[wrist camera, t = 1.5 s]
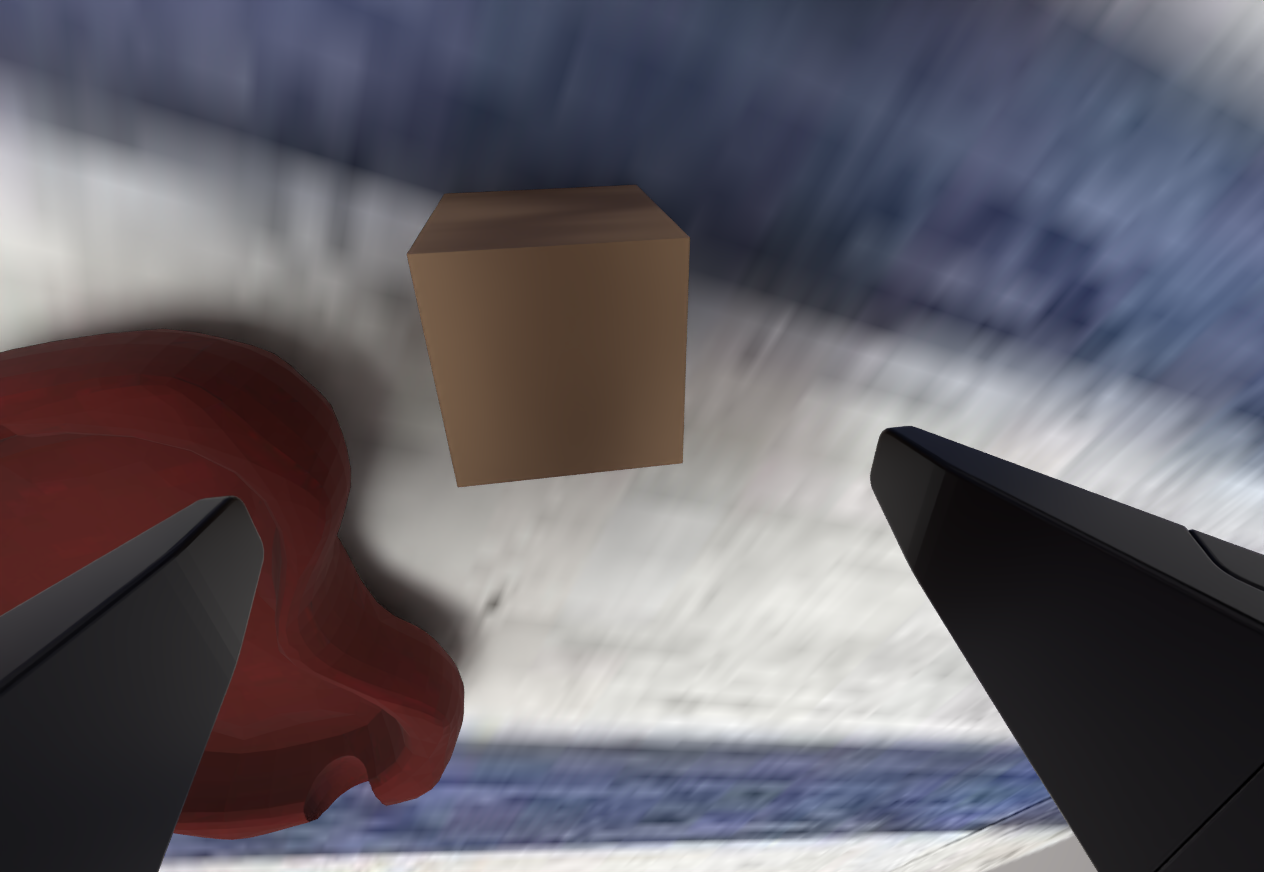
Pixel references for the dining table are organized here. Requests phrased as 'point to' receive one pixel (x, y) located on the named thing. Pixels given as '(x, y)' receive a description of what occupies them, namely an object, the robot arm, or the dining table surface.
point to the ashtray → (290, 575)
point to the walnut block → (555, 330)
